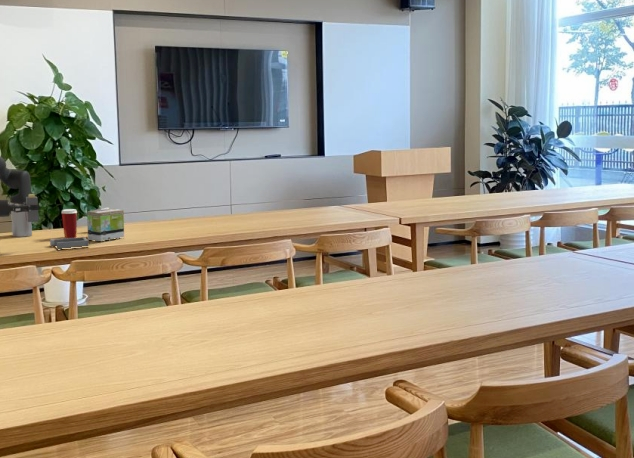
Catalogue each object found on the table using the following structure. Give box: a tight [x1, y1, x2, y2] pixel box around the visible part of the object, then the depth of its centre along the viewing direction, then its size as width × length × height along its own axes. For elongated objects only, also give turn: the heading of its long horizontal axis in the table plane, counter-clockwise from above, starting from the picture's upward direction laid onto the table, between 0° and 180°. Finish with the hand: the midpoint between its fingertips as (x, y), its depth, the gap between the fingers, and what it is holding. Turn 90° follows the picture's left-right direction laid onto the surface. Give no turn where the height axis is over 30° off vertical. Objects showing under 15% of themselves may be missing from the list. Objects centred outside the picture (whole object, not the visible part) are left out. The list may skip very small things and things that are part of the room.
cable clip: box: [49, 238, 55, 247], centre depth 322 cm, size 3×4×3 cm
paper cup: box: [60, 208, 78, 239], centre depth 344 cm, size 8×8×14 cm
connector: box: [26, 193, 40, 223], centre depth 309 cm, size 4×4×12 cm
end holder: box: [53, 236, 90, 250], centre depth 319 cm, size 10×14×4 cm
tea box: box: [86, 208, 125, 242], centre depth 339 cm, size 15×10×15 cm, turn 148°
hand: (38, 206), depth 311 cm, fingers closed on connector, 4 cm apart
